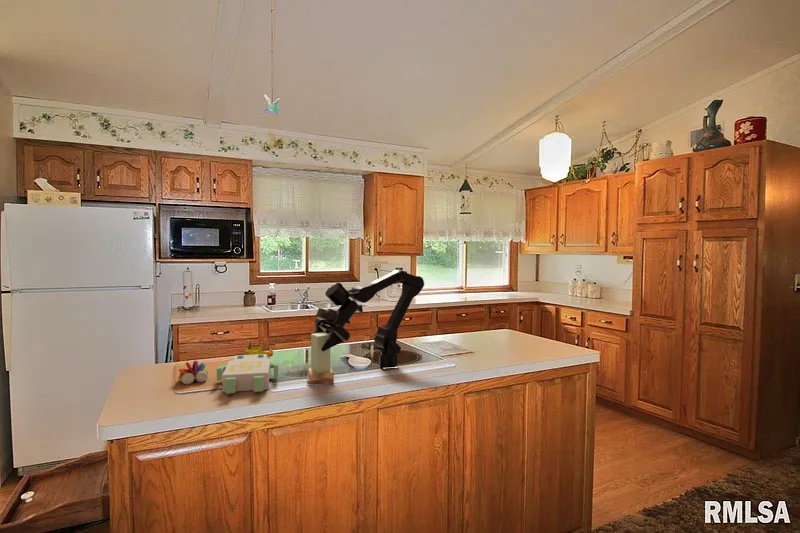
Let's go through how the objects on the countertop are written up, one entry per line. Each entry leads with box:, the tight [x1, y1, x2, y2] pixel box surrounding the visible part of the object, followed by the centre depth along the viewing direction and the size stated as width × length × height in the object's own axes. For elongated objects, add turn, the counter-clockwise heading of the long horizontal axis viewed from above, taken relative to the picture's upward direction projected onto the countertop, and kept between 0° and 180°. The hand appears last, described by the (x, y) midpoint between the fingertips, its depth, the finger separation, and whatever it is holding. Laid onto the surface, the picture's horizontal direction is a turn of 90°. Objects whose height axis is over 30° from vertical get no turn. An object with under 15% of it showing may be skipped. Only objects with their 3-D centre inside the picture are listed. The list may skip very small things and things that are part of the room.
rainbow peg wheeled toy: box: [177, 359, 209, 385], centre depth 153 cm, size 8×10×7 cm
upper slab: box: [307, 366, 335, 381], centre depth 155 cm, size 8×8×2 cm
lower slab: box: [306, 374, 335, 386], centre depth 155 cm, size 9×9×2 cm
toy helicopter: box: [243, 342, 274, 359], centre depth 169 cm, size 6×18×10 cm, turn 155°
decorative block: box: [216, 354, 280, 395], centre depth 151 cm, size 26×6×20 cm
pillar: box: [310, 332, 331, 373], centre depth 154 cm, size 5×5×13 cm
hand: (316, 347), depth 153 cm, fingers open, 9 cm apart
